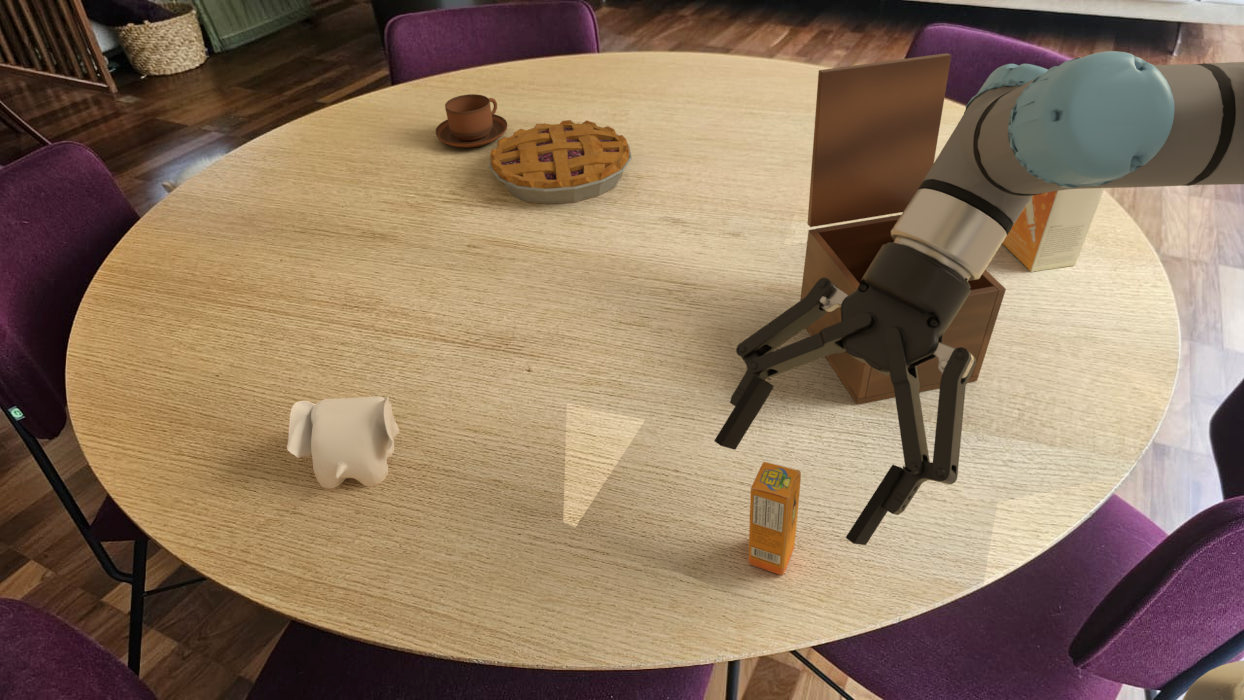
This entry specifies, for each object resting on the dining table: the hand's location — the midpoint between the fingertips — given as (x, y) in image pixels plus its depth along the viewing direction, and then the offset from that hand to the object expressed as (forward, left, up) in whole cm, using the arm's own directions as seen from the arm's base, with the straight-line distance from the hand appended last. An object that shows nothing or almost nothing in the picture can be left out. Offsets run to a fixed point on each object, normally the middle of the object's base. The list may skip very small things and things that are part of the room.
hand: (785, 491), depth 65 cm
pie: (+54, -51, -8) cm, 75 cm away
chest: (-1, -31, -7) cm, 32 cm away
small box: (-13, -58, -8) cm, 60 cm away
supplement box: (0, +1, -8) cm, 8 cm away
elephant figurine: (+39, +9, -8) cm, 41 cm away
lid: (+5, -37, +13) cm, 39 cm away
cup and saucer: (+75, -56, -8) cm, 94 cm away
